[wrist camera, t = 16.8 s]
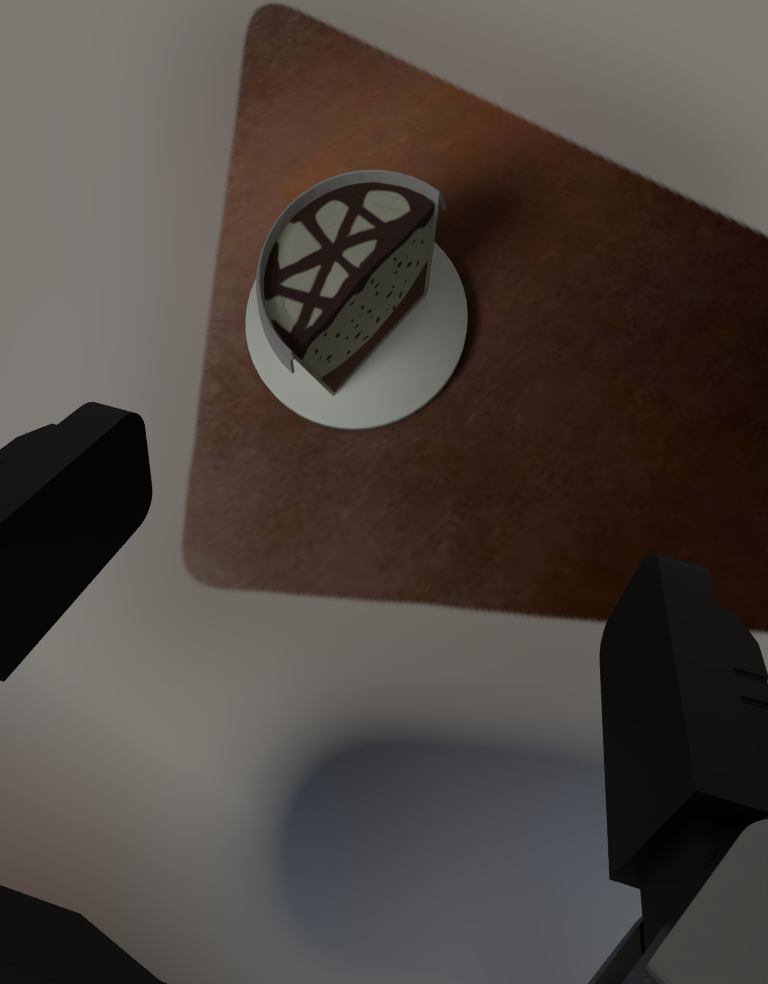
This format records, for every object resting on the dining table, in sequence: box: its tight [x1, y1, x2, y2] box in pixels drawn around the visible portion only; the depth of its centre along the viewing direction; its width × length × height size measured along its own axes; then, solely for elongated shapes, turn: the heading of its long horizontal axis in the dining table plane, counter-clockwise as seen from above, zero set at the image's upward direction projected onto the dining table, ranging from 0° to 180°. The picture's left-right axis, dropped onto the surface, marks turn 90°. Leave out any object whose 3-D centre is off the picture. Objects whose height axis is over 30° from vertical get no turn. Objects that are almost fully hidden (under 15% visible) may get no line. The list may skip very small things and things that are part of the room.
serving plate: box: [246, 242, 468, 431], centre depth 42 cm, size 15×15×1 cm
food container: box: [256, 170, 446, 396], centre depth 36 cm, size 12×6×10 cm, turn 138°
